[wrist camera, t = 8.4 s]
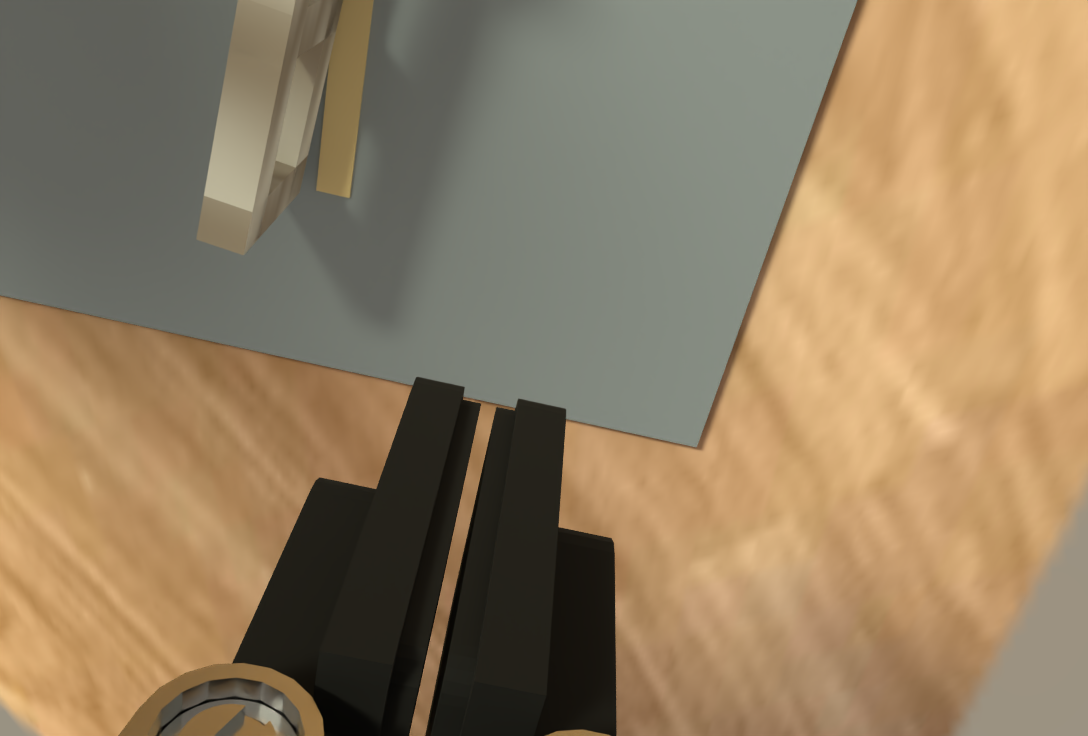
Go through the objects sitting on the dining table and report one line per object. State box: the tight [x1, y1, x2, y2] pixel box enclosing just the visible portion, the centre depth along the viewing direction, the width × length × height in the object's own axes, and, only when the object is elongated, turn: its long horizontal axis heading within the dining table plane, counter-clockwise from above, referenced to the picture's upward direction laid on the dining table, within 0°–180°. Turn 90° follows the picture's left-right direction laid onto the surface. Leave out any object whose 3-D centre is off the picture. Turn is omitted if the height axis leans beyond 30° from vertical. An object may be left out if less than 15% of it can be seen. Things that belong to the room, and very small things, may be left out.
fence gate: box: [196, 0, 343, 255], centre depth 23 cm, size 11×1×5 cm, turn 161°
